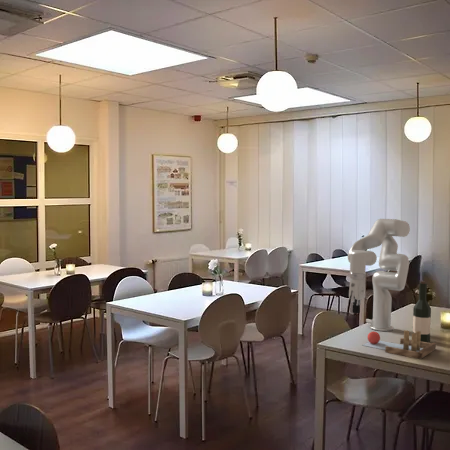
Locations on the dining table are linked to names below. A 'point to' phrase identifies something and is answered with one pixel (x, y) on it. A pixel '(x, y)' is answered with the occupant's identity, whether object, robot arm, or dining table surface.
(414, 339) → the pin
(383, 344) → the lane strip
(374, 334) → the ball
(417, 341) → the pin
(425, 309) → the wine bottle
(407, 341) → the front pin
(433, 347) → the wooden tray
